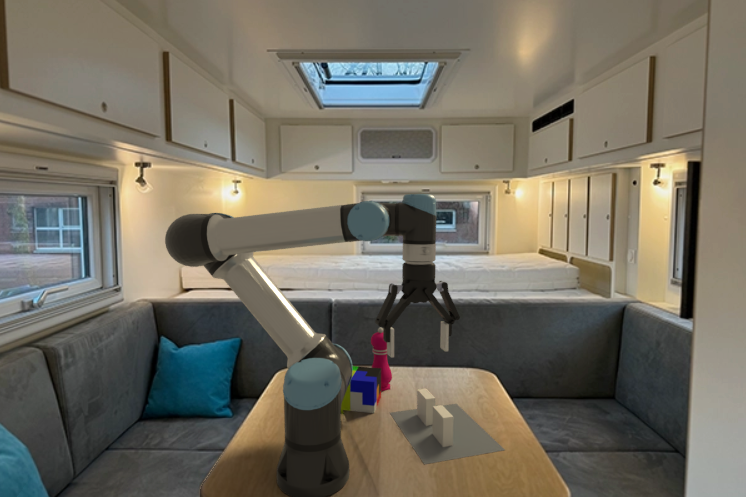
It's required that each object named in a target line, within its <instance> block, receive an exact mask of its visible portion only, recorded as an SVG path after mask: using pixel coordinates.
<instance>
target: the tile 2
mask: <svg viewBox="0 0 746 497" xmlns="http://www.w3.org/2000/svg"><path fill="white" fill-rule="evenodd" d="M432 434H433V435H434V436H435V438H436V439H437V440H438V441H439V443H440V444H441V445H442V446H443V447H446V446H452V445H453V416H452V415H451V414H450V413H449V412H448V411H447V410H446V409H445V407H444V406H443V404H441V405H440V404H439V405H435V406H433V423H432Z"/></svg>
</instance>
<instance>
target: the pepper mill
mask: <svg viewBox="0 0 746 497" xmlns="http://www.w3.org/2000/svg"><path fill="white" fill-rule="evenodd" d="M370 344H371V345H372V351H371V352H372V354H373V362H372V365H371V366H370V367H371V368H381V392H385V391H389V390H390V391H391V384H390V383H391V381H392V379H393V374H392V370H391V368H390V365H389V363H388V354H387V342H385V341H384V339H383V327H380V326H379V327H378V328H377V332H375V333H373V334H372V336H370Z"/></svg>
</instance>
